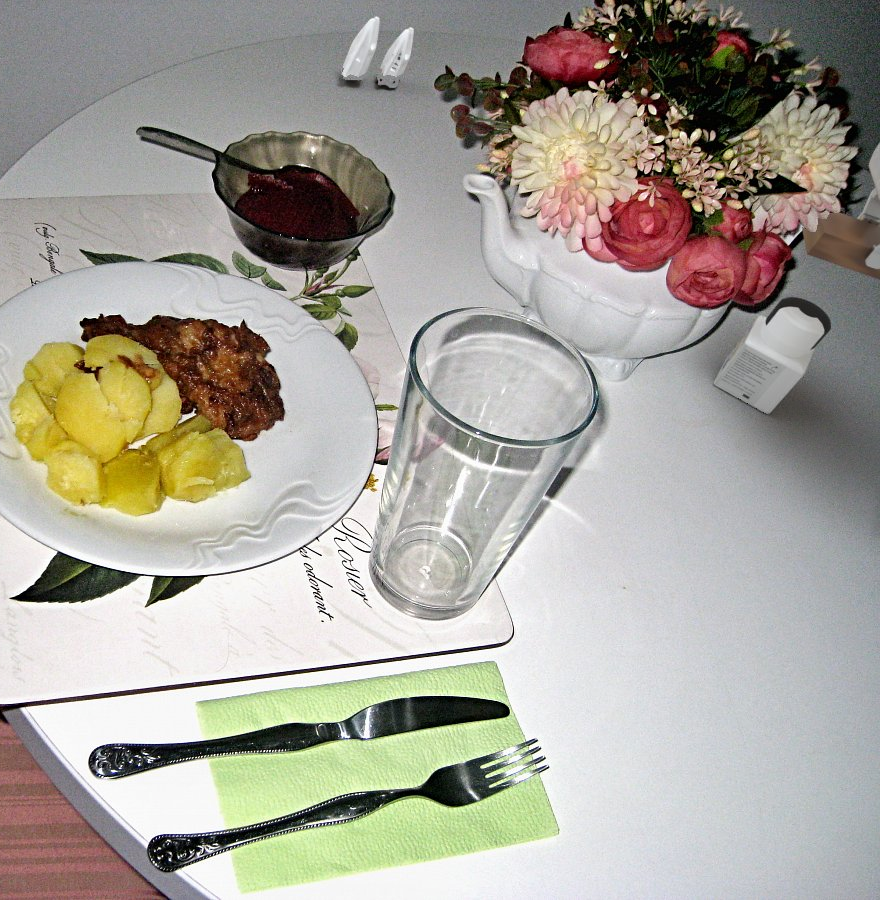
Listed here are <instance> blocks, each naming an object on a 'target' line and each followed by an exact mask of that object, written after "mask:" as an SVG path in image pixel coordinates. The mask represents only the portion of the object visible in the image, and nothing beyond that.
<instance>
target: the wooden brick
mask: <svg viewBox="0 0 880 900" xmlns="http://www.w3.org/2000/svg"><path fill="white" fill-rule="evenodd" d="M857 218H858V217H854V216H851V215H847V214H845V213H842V212H839V213H830V214H829V215H828V217H827V219H818V225H817V230H816V232H810V231H808V230H807V229H805V228H803V227H802V226H801V230H802V235H803V240H804V245H805V250H806V255H807V256H810V257H813V258H817V259H819V260H822V261H825V262H828V263H831V264H833V265H836V266H839V267H842V268H844V269H848V270H851V271H854V272H856V273H859V274H862V275H864V276H867V277H871V278H874V279H877V280H879V281H880V269H875V268H872V267H869V266H867V265H866V262H865V258H864V256H865V254H866V253H867V252H868V251H869V250H870V248H871V247H872V246H873V245H875V246H878V245H879V244H880V226H879V225H878V226H877V225H874V224H871V223H868V222H865V221H862V220H859V219H857Z"/></svg>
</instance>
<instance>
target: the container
mask: <svg viewBox="0 0 880 900" xmlns="http://www.w3.org/2000/svg"><path fill="white" fill-rule="evenodd" d="M831 329H832V321H831V319H830V317H829V315H828V314H827V313H826V311H824V310H823V309H822V308H821V307H820V306H819V305H817V304H815V302H812V301H810V300H807V299H805V298H801V297H796V296H788V297H784V298H782V299H780V301H779V302H778V303H777V304H776V305H775V306H774V308H773V309H772V310H771V312H770V313H769V315H768V316H767V317H766V316H764V315H759V316H757V317H756V319H755V320H754V322H753V323H752V324H751V325H750V326H749V328H748V329H747V330H746V332H745V333H744V334H743V335H742V337H741V338H740V339H739V340H738V342H737V343H736V344H735V346H734V347H733V348H732V350H730V351H729V353H728V355H727V356H726V358H725V360H724V362H723V363H722V365H721V367H720V369H719V371H718V373H717V375H716V377H715V379H714V380H713V385H714V386H715V387H717V388H718V389H721V390H722V391H724V392H726V393H728V394H729V395H732V396H733V397H735V398H737V399H738V398H739V400H740V399H741V400H740V401H742V402H744V403H746V404H747V403H748V404H747V405H749V406H751V407H753V408H755V409H756V408H757V409H756V410H758V411H760V412H761V413H763V412H764V413H763V414H765V413H766V414H765V415H769V414H770V413H772V412H773V410H774V409H775V408H777V406H778V405H779V404H780V403H781V401H783V400H784V398H785V397H786V396H787V395H788V394H789V392H790V391H791V390H792V389H794V387H795V386H796V384H797V383H798V382H799V381H800V380H801V379H802V378H803V377H804V375H805V374H806V372H807V370H808V367H809V364H810V362H811V359H812V357H813V355H814V352H815V349H816V347H817V346H818V345H819V344H820V343H821V341H823V340H824V338H825V337H826V336H827V335H828V333H829V332H830V331H831Z"/></svg>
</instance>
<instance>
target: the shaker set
mask: <svg viewBox="0 0 880 900" xmlns="http://www.w3.org/2000/svg"><path fill="white" fill-rule="evenodd" d="M379 31H380V17H379V16H374V17H372V18H370V19H369V20H368V21H367V22H366V23H365V24H364V26H363V27H362V28H361V29H360V31H359V32H358V33H357V35H356V36H355V37H354V39H353V41H352V42H351V44H350V47H349V50H348V52H347V54H346V57H345V58H344V59H345V60H344V62H343V65H342V67H343V68H344V70H343V72H342V71H341V74H340V76H341V75H343V76H344V77H347V76H348V75H350V74H351V75H354V76H357V77H359V76H361V75H363V74H365V73H366V74H367V72H368V70H369V67H370V65H371V62H372V60H373V57H374V54H375V52H376V50H377V47H378V39H379ZM414 34H415V29H414V27H411V26H410V27H409V28H406V29H404V30H403V31H402V32H401V33H400V34H399V35H398V37H397V38H396V39H395V40H394V41H393V43H392V44H391V45H390V46H389V48H388V49H387V51H386V53H385V56H384V57H383V60H382V61H381V64H380V66H379V69H380V68H381V69H382V73H383V76H386V75H391V76H395V77H397V76H399V75H401V74H403V75H404V73H405V71H406V68H407V66H408V64H409V61H410V59H411V54H412V47H413V43H414ZM397 65H398V66H397ZM392 67H393V68H396V69H393V68H392ZM382 73H381V74H382Z"/></svg>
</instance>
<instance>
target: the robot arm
mask: <svg viewBox="0 0 880 900" xmlns="http://www.w3.org/2000/svg"><path fill="white" fill-rule="evenodd" d="M868 170H869V172H870V175H871V179H872V181H873V184H874V188H873V189H872V191H871V192H870V194H869V196H868V198H867V200H866V203H865V205H864V207H863V210H862V211H861V213H860V214H859V215H858V217H856V218H857V219H859V220H862V221H865V222H868V223H871V224H874V225H877V226H879V225H880V142H879V143H878V144H877V146H876V147H875V148H874V150H873V153H872V155H871V157H870V160H869V162H868ZM864 258H865V262H866V265H867V266H869V267H872V268H875V269H880V244H879V245H878V246H875V245H873V246H872V247H871V248H870V250H869V251H868V252H867V253H866V254H865V256H864Z"/></svg>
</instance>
